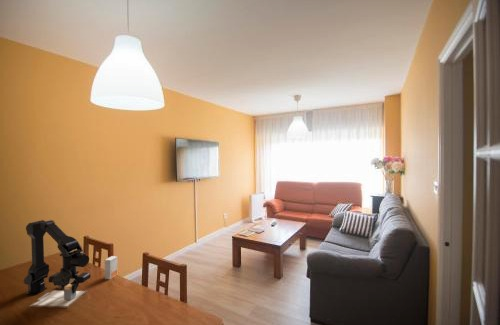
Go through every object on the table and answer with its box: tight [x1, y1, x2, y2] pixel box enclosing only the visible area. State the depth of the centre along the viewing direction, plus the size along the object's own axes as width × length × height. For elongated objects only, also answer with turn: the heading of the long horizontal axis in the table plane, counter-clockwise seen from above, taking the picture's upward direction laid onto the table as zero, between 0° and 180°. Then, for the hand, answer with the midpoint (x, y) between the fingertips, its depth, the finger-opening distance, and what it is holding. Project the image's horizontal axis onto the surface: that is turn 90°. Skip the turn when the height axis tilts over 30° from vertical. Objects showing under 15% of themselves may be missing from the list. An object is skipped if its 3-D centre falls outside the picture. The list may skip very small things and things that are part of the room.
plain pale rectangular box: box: [57, 280, 73, 290], centre depth 134 cm, size 7×3×3 cm, turn 98°
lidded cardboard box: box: [64, 284, 76, 300], centre depth 122 cm, size 4×4×6 cm
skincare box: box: [104, 255, 118, 280], centre depth 145 cm, size 6×4×12 cm
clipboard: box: [28, 289, 89, 309], centre depth 123 cm, size 20×14×1 cm
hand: (70, 293), depth 122 cm, fingers closed on lidded cardboard box, 4 cm apart
